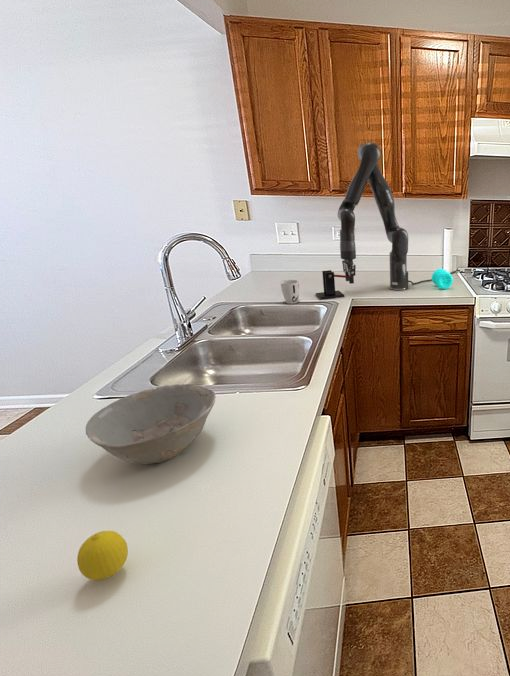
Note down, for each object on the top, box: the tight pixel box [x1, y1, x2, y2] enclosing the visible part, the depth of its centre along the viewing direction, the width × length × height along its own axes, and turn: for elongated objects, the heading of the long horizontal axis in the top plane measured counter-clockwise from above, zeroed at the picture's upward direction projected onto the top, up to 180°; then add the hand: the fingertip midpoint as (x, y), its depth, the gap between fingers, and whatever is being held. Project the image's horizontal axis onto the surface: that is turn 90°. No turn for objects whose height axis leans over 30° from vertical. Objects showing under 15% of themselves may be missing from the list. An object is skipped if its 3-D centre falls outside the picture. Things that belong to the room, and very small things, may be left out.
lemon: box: [76, 530, 129, 581], centre depth 59 cm, size 6×6×8 cm
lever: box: [325, 272, 349, 279], centre depth 201 cm, size 13×5×2 cm, turn 122°
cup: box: [280, 279, 300, 305], centre depth 189 cm, size 8×8×10 cm
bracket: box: [315, 269, 345, 301], centre depth 199 cm, size 12×9×13 cm
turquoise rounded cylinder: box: [431, 268, 454, 290], centre depth 223 cm, size 10×10×10 cm
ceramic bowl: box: [85, 383, 216, 465], centre depth 86 cm, size 22×23×10 cm
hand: (349, 282), depth 205 cm, fingers closed on lever, 5 cm apart
